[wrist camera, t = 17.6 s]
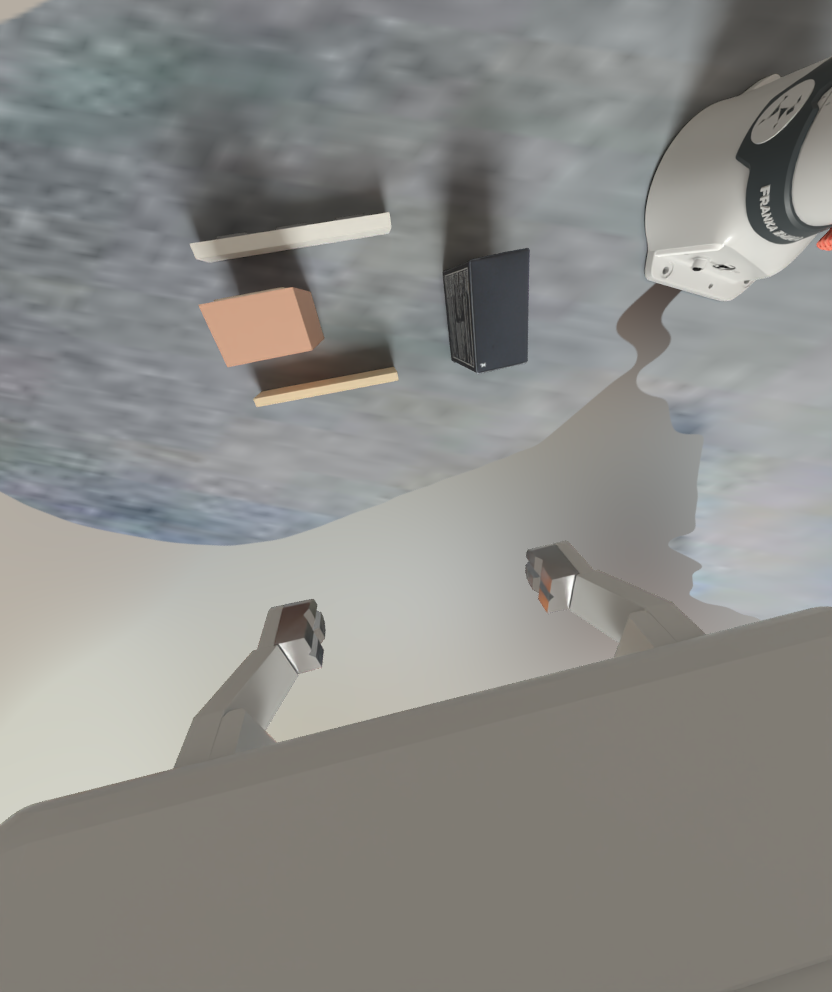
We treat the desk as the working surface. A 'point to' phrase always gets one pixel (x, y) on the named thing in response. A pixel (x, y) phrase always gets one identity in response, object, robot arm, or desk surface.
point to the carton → (263, 324)
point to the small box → (489, 311)
